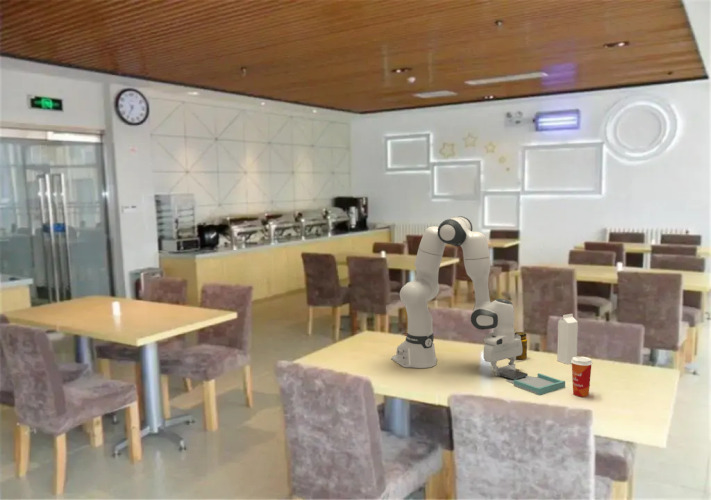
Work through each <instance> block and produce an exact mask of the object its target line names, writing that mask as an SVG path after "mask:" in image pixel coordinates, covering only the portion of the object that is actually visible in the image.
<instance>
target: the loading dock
mask: <svg viewBox="0 0 711 500" xmlns="http://www.w3.org/2000/svg"><path fill="white" fill-rule="evenodd" d="M505 382H507V383H509V384H512V385H513V386H514V387H515V388H516V387H517V388H518V389H519V388H520V389H521V390H525V391H527V392H529V393H530V392H531V393H532V394H535V395H538V396H542V395H545V394H547V393H551V392H555V391H559V390H561V389H565V388H566V381H565V380H561V379H558V378H554V377H553V376H549V375H545V374H543V373H537V376H530V375H528V376H526V377H522V378H518V379H516V380H513V379H510V378H509V379H506V380H505Z"/></svg>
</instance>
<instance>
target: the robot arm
mask: <svg viewBox="0 0 711 500" xmlns="http://www.w3.org/2000/svg"><path fill="white" fill-rule="evenodd" d="M447 245H451V246H455V247H461V250H462V254H463V264H464V269H465V272H466V275H467V276H468V277H469V279H471V281H472V284H473V287H474V288H473V290H474V298H475V303H474V306H473V309H472V313H471V315H470V322H471V324H472V326H473V327H474V328H475V329H477V330H481V331H482V330H483V331H484V330H491V329H492V332H491V333H490V334H488V335H487V336H486V337H484V339H483V342H484V343H485V344H484V346H483V360H484V361H485V362H487V363H490V364H491V366H492V371H493V372H495V368H499V366H497V362H499V361H503V360H507V359H508V358H511V359H509V361H508V364H507V365H511V364H515V362H516V361H515V360H516V356H520V355H521V354H522V342H521V336H520V335H518V334H516V335H515V327H514V326H515V325H514V323H515V308H514V303H512V302H511V301H510V300H508V299H503V298H496V299H495V300H493V301H491V297H490V291H489V290H490V288H489V278H490V277H489V276H490V273H491V253H490V247H489V243H488V240H487V237H486V235H485V234H484V233H483V232H480V231H473V224H472V222H471V220H470V219H469V218H467V217H465V216H461V215H459V216H453V217H450V218H447V219H445V220H443V221H442V222H441V223H440V224H439V226H435V225H433V226H429V227H427V228H426V229H425V230H424V233H423V235H422V237H421V240H420V243H419V245H418V249H417V253H416V256H415V259H414V260H415V261H414V267H415V273H416V274H415V278H414V280H411V281H408V282H406V283H405V284H404V285H403V286H402V287H401V289H400V291H399V299H400V301H401V302H402V304H403V305H404V307H405V311H406V314H407V332H405V333H404V336H405V340H404V341H403V342H402V343H400V344H399V345H398V346H397V347H396V354H394V355H392V356H391V360H392V361H394V362H395V363H397V364H399V365H400V366H401V367H403V368H416V369H426V368H427V369H428V368H432V367H435V366H436V365H437V361H438V358H437V357H436V356H437V355H436V347H435V343H434V340H435V339H434V333H433V315H432V314H431V313H430V310H429V307H428V303H429V302H430V301H432V300H434V299H435V298H436V297H437V296H438V294H439V293H440V284H439V273H440V272H439V271H440V267H441V263H442V260H443V259H442V258H443V256H444V251H445V248H446V246H447Z"/></svg>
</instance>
